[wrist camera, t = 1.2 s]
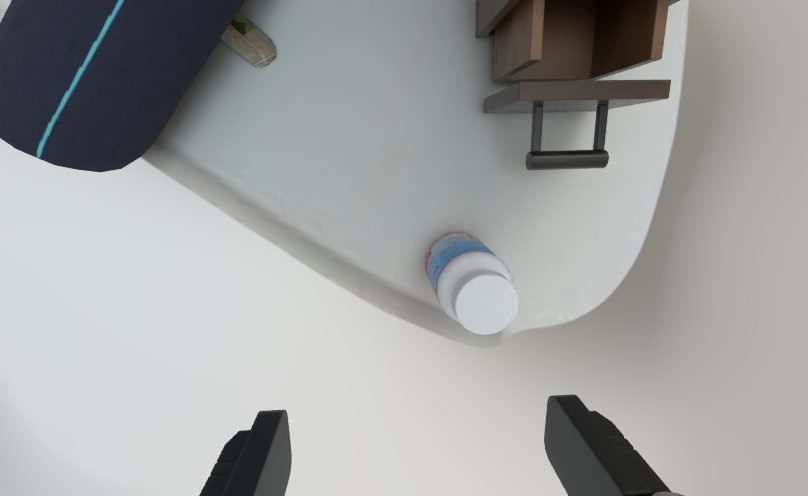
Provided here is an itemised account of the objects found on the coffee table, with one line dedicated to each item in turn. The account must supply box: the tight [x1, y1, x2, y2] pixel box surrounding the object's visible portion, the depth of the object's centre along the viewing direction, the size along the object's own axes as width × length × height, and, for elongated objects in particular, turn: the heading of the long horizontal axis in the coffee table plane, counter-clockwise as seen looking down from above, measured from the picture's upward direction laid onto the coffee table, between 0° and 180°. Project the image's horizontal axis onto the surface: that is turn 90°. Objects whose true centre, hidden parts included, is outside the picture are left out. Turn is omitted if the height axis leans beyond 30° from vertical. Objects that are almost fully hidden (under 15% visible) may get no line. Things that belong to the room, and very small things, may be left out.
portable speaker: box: [0, 0, 244, 172], centre depth 27 cm, size 25×10×10 cm
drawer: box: [483, 0, 671, 170], centre depth 29 cm, size 19×10×9 cm, turn 1°
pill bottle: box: [425, 232, 519, 335], centre depth 33 cm, size 6×6×11 cm
